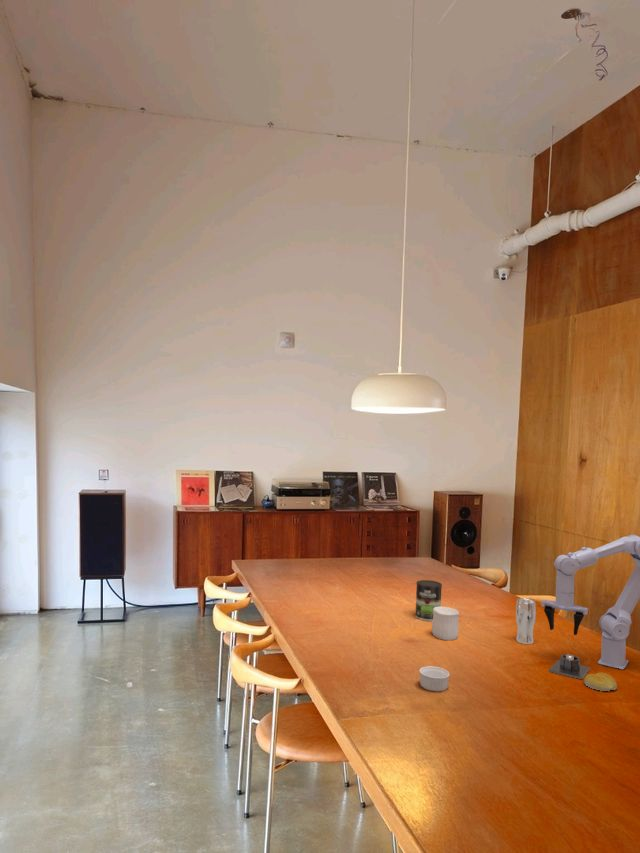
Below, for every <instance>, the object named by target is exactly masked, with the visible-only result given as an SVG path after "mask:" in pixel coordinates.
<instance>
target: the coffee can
mask: <svg viewBox="0 0 640 853" xmlns="http://www.w3.org/2000/svg"><path fill="white" fill-rule="evenodd" d="M415 584H416V595H415V618H416V619H418V620H420V619H421V621H424V620H425V621H426V622H433V608H434V607H439V606H441V605H442V587H443V584H442V583H441V582H439V581H435V580H429V579H426V580H425V579H422V580H418V581H416V583H415ZM441 607H442V606H441ZM425 621H424V622H425Z"/></svg>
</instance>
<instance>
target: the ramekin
mask: <svg viewBox="0 0 640 853" xmlns="http://www.w3.org/2000/svg"><path fill="white" fill-rule="evenodd" d="M418 672H419V683H420V684H419V685H420V686H421V687H422V688H423V689H426V690H427V691H432V692H443V691H445V690H447V688H448V684H449V677H450V672H449V670H446V669H445V668H442V667H438V666H434V665H432V666H429V665H428V666H423V667H421V668H419V671H418Z"/></svg>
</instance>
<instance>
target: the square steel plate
mask: <svg viewBox="0 0 640 853" xmlns="http://www.w3.org/2000/svg"><path fill="white" fill-rule="evenodd" d="M574 656H575V655H574ZM574 656H573V654H570V655H566V659H569V660H574ZM590 670H591V667H590V666H586V665H582V664H580V670H579V671H578V672H570V671H566V670H563V669H562V668H561V667H560V659H557V660H556V661H555V662H554V663H553V664H552V665H551V666H550V668H549V669H548V673H552V672H553V674H556V673H557V675H560V674H562V675H561V676H564V675H566V676H565V677H568V676H570V677H569V678H572V677H574V678H573V679H576V678H578V679H577V680H579V679H583V680H584V676H585V675H587V674H588V673H589V671H590ZM587 672H588V673H587Z"/></svg>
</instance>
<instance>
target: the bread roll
mask: <svg viewBox="0 0 640 853" xmlns="http://www.w3.org/2000/svg"><path fill="white" fill-rule="evenodd" d="M583 683H584V685H585V686H586V687H587V686H588V687H587V688H589V687H590V688H589V689H591V688H592V689H591V690H593V689H596V690H595V691H597V690H600V691H599V692H602V691H608V692H611V691H610V690H614V691H616V690H617V688H618V685H617V682H616V680H615V679H614V677H613V676H611V675H610V674H608V673H605V672H602V671H601V672H597V673H587V674H586V676H585V677H584V678H583Z"/></svg>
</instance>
